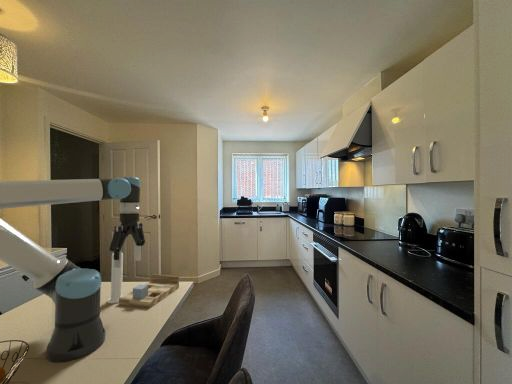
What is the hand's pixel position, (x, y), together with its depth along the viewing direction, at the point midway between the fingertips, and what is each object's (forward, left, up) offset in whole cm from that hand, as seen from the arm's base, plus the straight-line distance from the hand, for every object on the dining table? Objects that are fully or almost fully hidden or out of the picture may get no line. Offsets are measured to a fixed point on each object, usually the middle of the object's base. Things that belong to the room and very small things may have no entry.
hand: (128, 263), depth 99 cm
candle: (+7, +12, -20) cm, 25 cm away
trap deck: (+16, 0, -20) cm, 26 cm away
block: (+8, 0, -17) cm, 19 cm away
